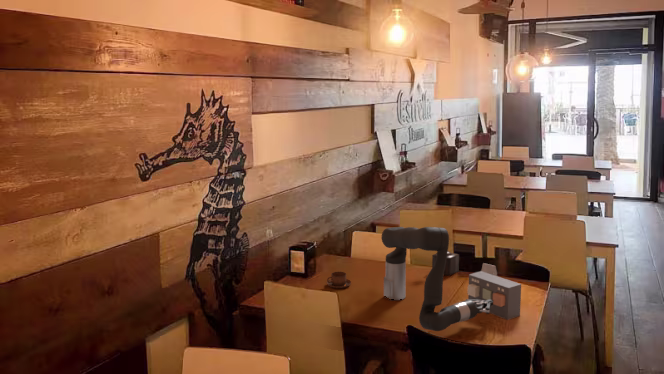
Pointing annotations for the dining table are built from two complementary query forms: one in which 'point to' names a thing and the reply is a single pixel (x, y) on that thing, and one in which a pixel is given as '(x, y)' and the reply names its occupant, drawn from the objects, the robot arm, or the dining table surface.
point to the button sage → (487, 294)
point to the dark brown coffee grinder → (449, 263)
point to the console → (500, 286)
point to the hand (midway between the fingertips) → (491, 301)
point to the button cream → (473, 290)
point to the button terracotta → (499, 299)
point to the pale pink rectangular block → (489, 269)
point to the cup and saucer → (338, 280)
